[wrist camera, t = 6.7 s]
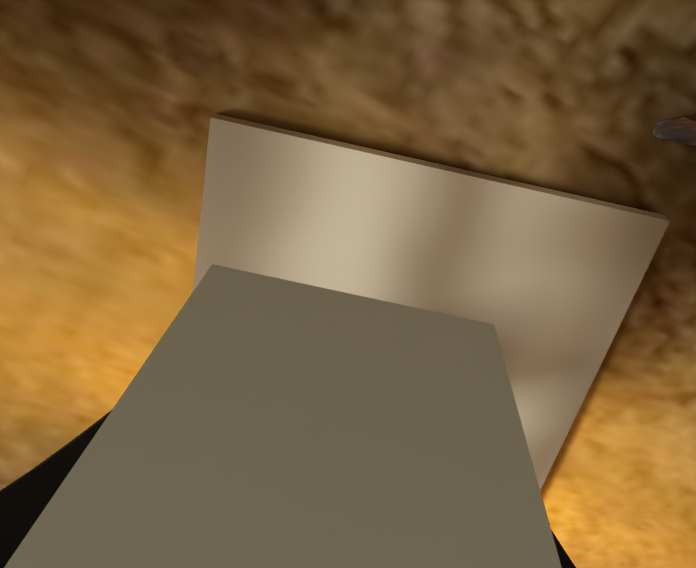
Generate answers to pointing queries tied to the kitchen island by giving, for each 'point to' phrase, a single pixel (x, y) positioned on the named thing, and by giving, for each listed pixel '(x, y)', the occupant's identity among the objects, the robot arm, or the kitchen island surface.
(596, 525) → the kitchen island surface
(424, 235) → the flat beige square board
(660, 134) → the lion figurine
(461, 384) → the pale green matte block
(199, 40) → the kitchen island surface
